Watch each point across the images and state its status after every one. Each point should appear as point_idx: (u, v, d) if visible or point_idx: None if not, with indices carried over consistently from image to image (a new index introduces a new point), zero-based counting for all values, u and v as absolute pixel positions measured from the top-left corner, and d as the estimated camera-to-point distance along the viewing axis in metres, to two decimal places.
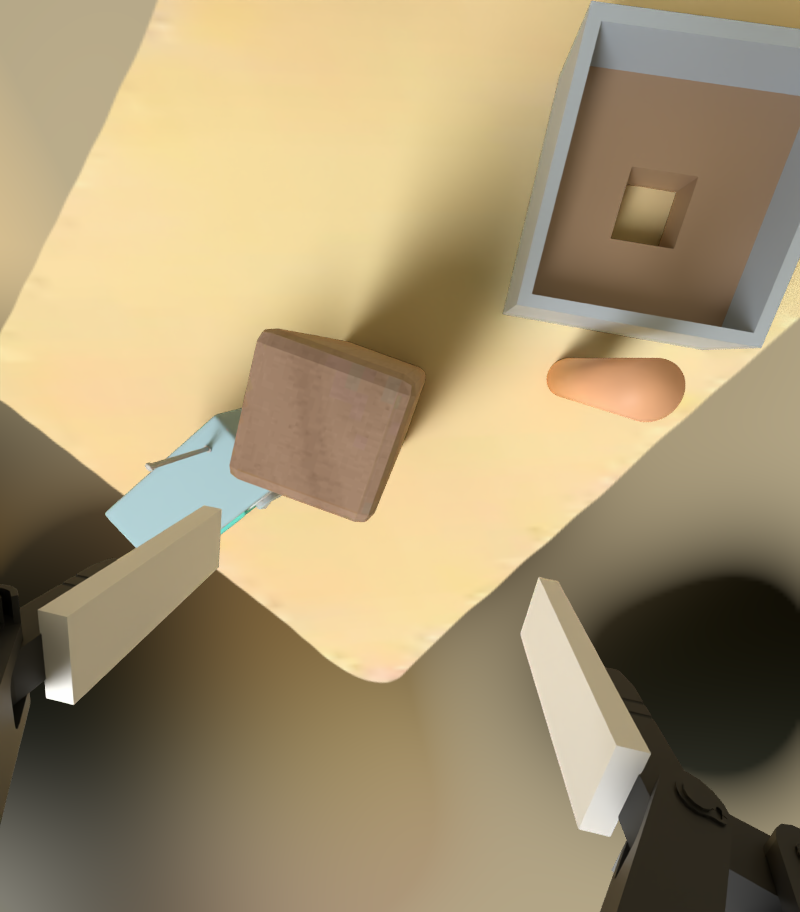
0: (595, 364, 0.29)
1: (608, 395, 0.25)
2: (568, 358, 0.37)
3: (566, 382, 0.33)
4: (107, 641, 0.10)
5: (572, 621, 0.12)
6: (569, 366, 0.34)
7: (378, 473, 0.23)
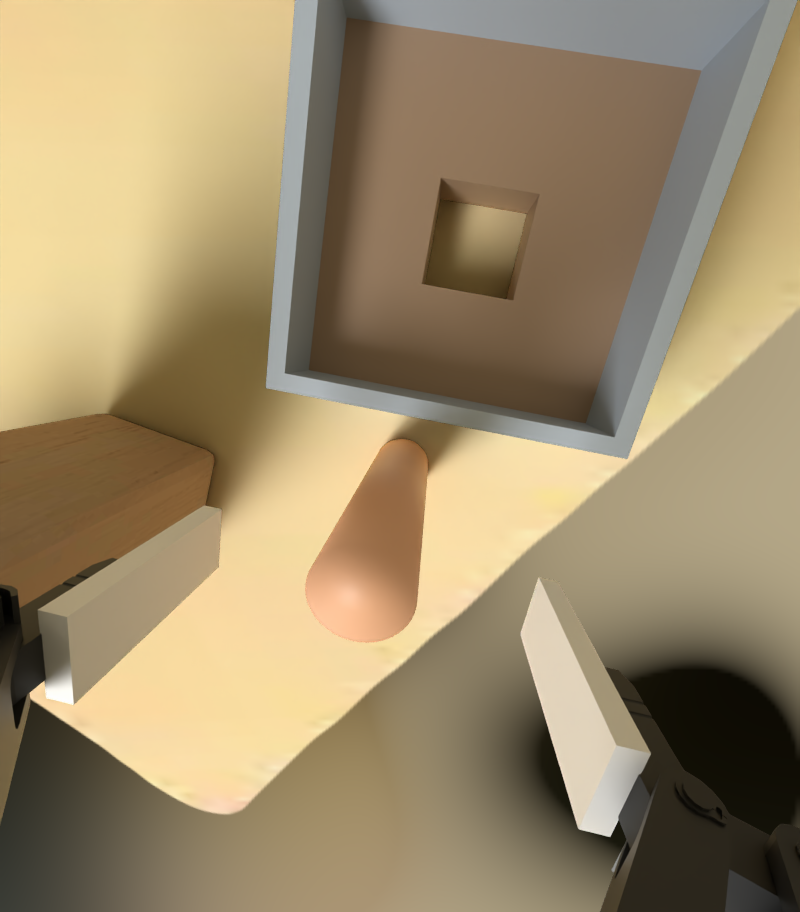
0: (357, 493, 0.18)
1: None
2: (395, 442, 0.27)
3: None
4: (107, 641, 0.10)
5: (572, 621, 0.12)
6: (369, 468, 0.23)
7: None
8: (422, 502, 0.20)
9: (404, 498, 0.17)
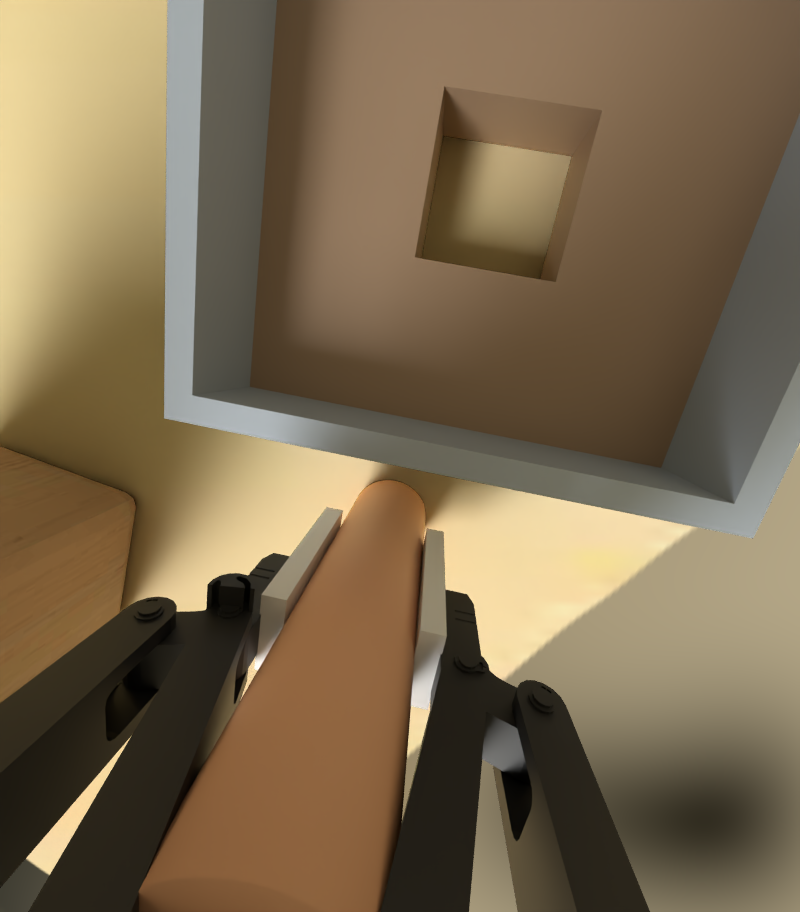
0: (298, 609, 0.10)
1: None
2: (379, 487, 0.19)
3: None
4: None
5: (437, 557, 0.14)
6: (336, 535, 0.15)
7: None
8: (413, 611, 0.12)
9: (379, 629, 0.10)
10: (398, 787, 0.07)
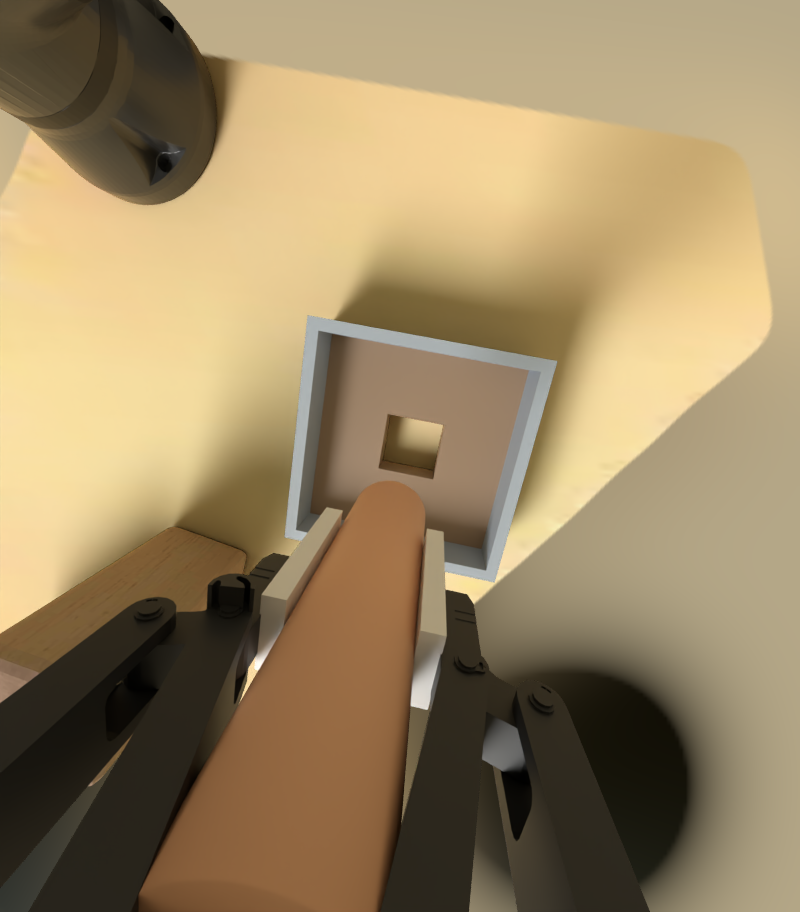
0: (298, 610, 0.10)
1: None
2: (379, 488, 0.19)
3: None
4: None
5: (437, 557, 0.14)
6: (336, 535, 0.15)
7: None
8: (413, 612, 0.12)
9: (378, 631, 0.10)
10: (398, 789, 0.07)
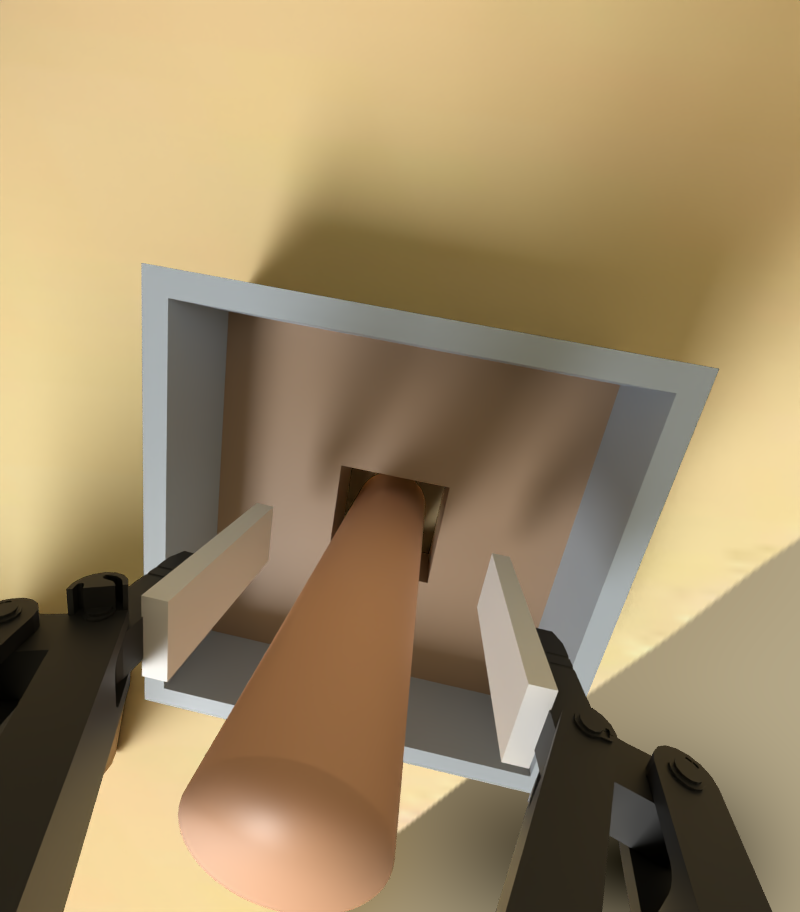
0: (313, 578, 0.12)
1: None
2: (382, 478, 0.21)
3: None
4: (191, 625, 0.11)
5: (514, 589, 0.13)
6: (343, 520, 0.17)
7: None
8: (414, 584, 0.13)
9: (384, 593, 0.11)
10: (402, 714, 0.08)
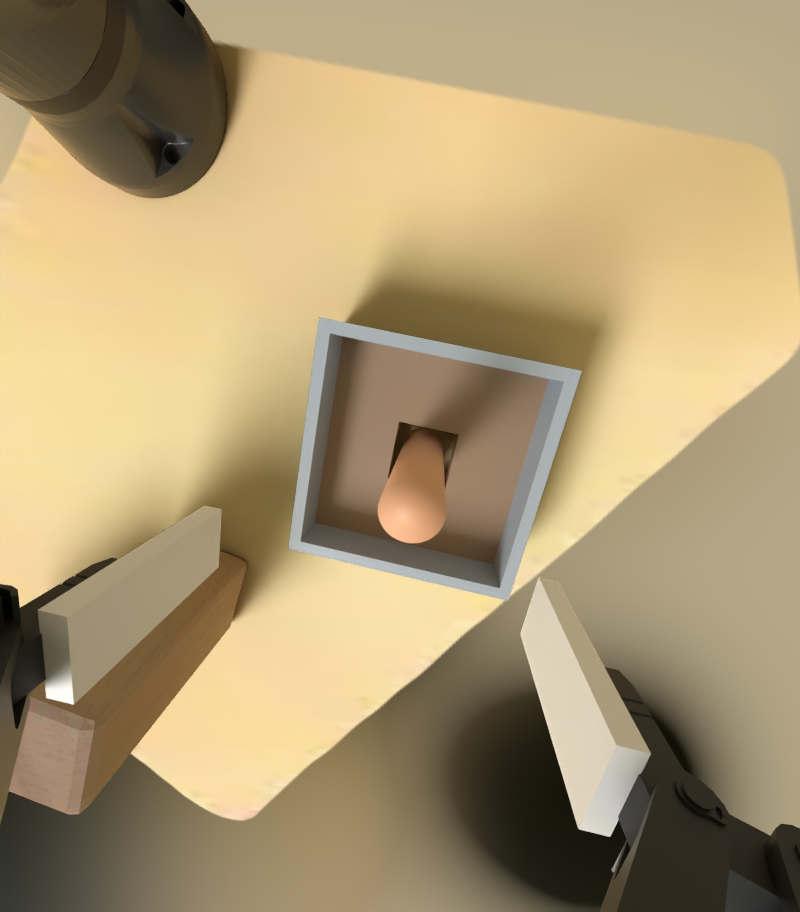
0: (400, 460, 0.27)
1: None
2: (419, 432, 0.36)
3: None
4: (107, 641, 0.10)
5: (572, 621, 0.12)
6: (402, 448, 0.32)
7: (79, 783, 0.25)
8: (443, 469, 0.28)
9: (433, 462, 0.26)
10: (444, 492, 0.23)
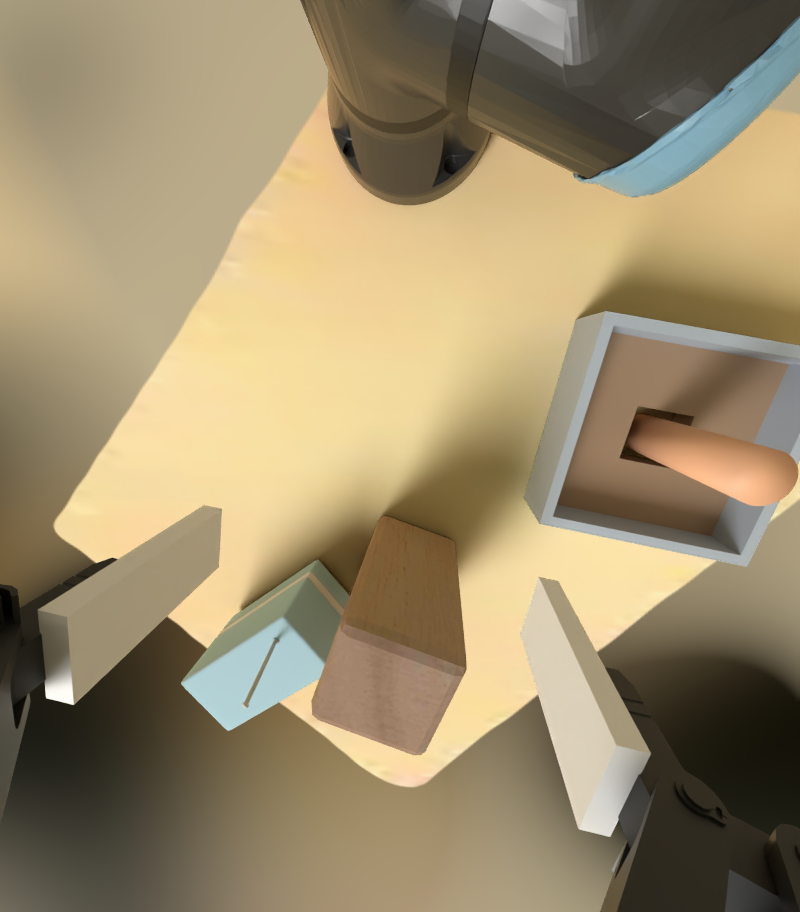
0: (691, 437, 0.30)
1: (717, 477, 0.26)
2: (644, 415, 0.39)
3: (652, 446, 0.34)
4: (107, 641, 0.10)
5: (572, 621, 0.12)
6: (653, 429, 0.35)
7: (435, 725, 0.28)
8: None
9: None
10: None
